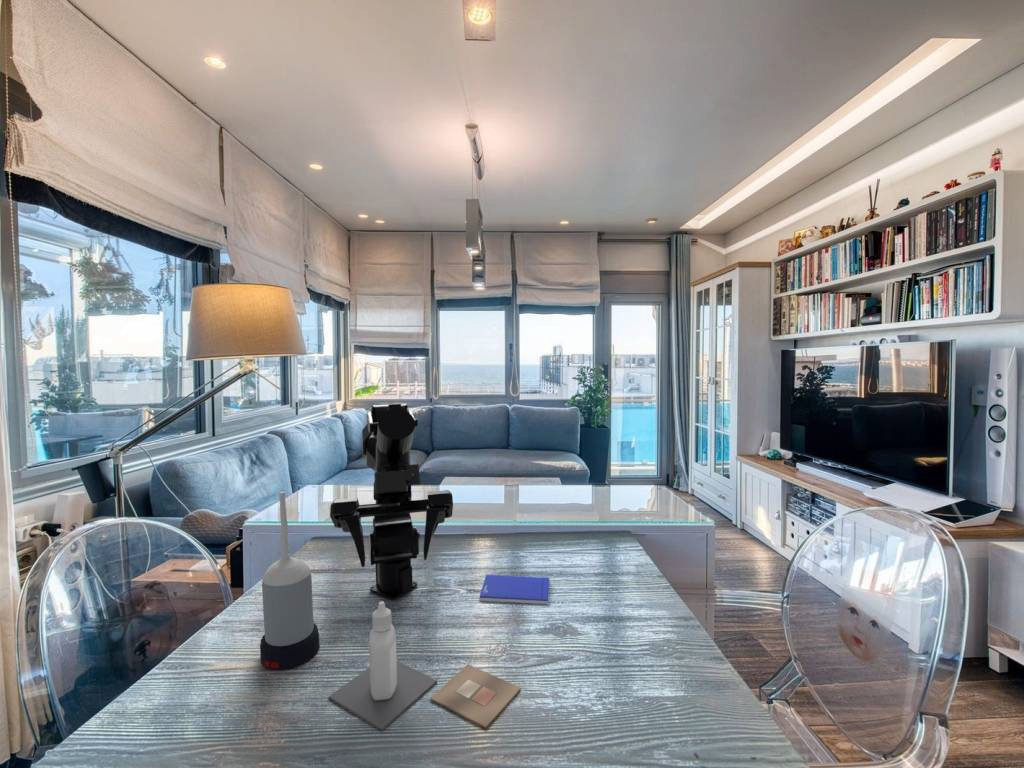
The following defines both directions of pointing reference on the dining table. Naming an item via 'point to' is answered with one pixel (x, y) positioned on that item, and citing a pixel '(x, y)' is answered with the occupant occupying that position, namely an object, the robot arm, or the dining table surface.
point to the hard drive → (515, 589)
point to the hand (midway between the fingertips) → (394, 563)
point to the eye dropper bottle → (382, 655)
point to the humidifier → (287, 609)
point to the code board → (476, 695)
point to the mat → (382, 711)
